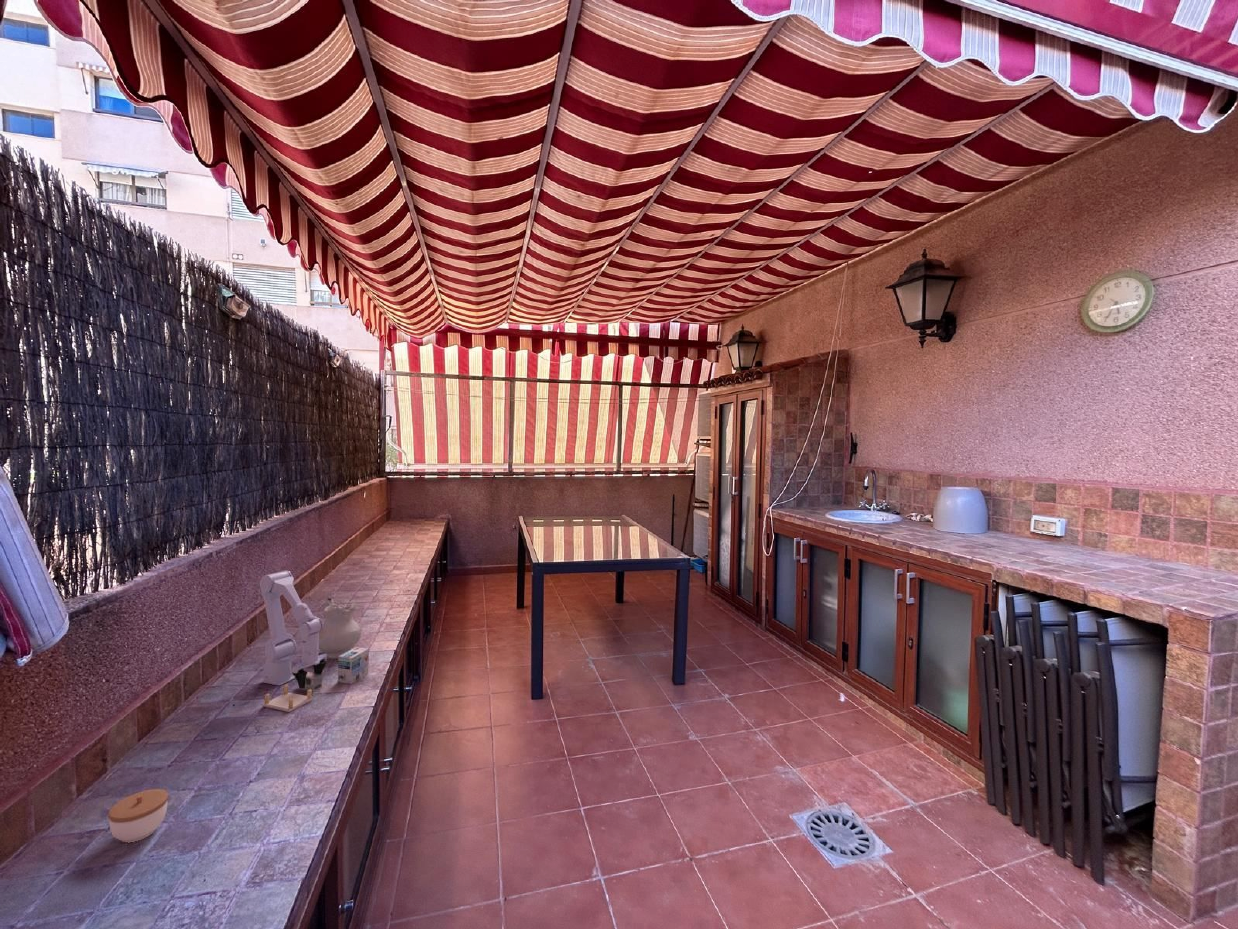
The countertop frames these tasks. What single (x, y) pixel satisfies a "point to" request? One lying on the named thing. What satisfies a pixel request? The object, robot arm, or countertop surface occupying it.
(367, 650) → the light bulb box
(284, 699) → the wooden peg board
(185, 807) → the countertop surface
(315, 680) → the mauve rectangular box
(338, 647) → the beige vase
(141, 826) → the lidded jar
